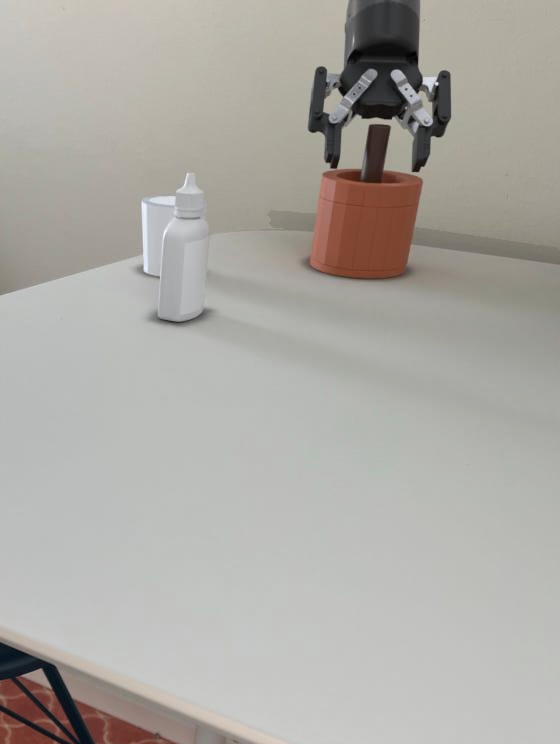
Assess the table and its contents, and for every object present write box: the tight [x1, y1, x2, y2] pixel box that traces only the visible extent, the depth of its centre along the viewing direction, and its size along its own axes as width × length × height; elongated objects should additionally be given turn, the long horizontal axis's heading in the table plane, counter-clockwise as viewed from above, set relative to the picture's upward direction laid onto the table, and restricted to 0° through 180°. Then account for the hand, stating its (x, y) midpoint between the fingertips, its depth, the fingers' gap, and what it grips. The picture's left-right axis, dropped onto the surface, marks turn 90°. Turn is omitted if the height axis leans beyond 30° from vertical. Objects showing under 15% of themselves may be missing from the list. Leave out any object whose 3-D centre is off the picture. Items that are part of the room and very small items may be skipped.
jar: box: [309, 168, 424, 280], centre depth 106 cm, size 10×10×9 cm
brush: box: [360, 123, 392, 183], centre depth 104 cm, size 5×5×13 cm
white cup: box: [141, 194, 208, 278], centre depth 103 cm, size 7×7×7 cm
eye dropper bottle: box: [157, 172, 211, 323], centre depth 89 cm, size 4×6×12 cm
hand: (376, 165), depth 101 cm, fingers open, 8 cm apart
